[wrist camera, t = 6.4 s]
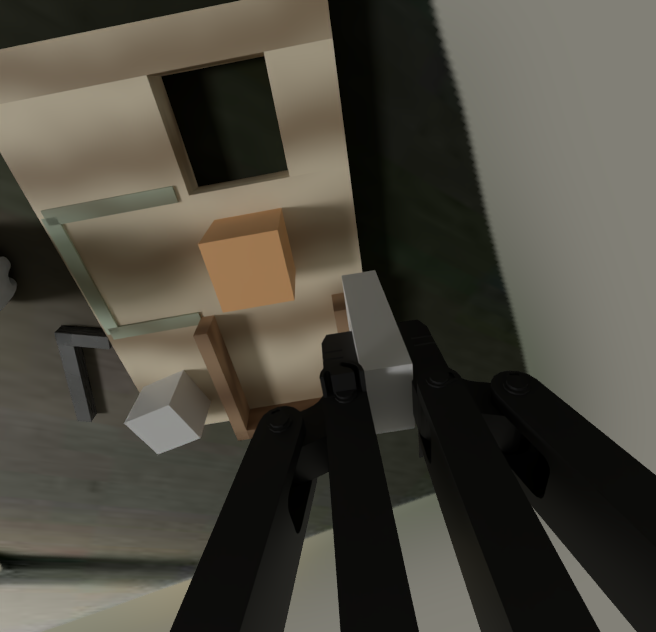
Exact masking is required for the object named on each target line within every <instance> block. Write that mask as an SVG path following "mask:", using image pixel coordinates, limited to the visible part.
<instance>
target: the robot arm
mask: <svg viewBox="0 0 656 632" xmlns="http://www.w3.org/2000/svg"><path fill="white" fill-rule="evenodd" d="M342 283H343V290H344V297H345V304H346V311H347V318H348V325H349V331H347V332H341V333H335V334H328V335H326V336H325V338H324V340H323V342H322V343H321V344H322V358H323V369H322V371H321V372H320V377H319V378H320V383H321V388H322V392H323V396H322V398H321V399H320V400H319V401H318V402H317V403H316V404H314V405H313V406H311V407H309V408H307V409H305V410H302V411H299V410H297V409H296V408H294V407H290V406H280V407H276V408H274V409H271V410H269V411H268V412H267V413H266V414H264V415H263V416H262V418H261V419H260V421H259V423H258V425H257V427H256V430H255V432H254V434H253V437H252V439H251V441H250V444H249V446H248V449H247V451H246V453H245V456H244V458H243V460H242V463H241V465H240V467H239V470H238V472H237V474H236V477H235V479H234V481H233V484H232V486H231V489H230V491H229V493H228V496H227V498H226V500H225V503H224V505H223V507H222V510H221V512H220V514H219V517H218V519H217V522H216V524H215V526H214V529H213V531H212V533H211V536H210V538H209V540H208V543H207V545H206V547H205V550H204V552H203V555H202V557H201V559H200V562H199V564H198V566H197V569H196V571H195V573H194V576H193V578H192V580H191V583H190V585H189V588H188V590H187V592H186V595H185V597H184V599H183V602H182V604H181V606H180V609H179V611H178V613H177V616H176V618H175V621H174V623H173V625H172V628H171V630H170V632H284V628H285V623H286V619H287V614H288V609H289V605H290V600H291V596H292V592H293V587H294V583H295V578H296V574H297V569H298V565H299V560H300V556H301V551H302V546H303V542H304V537H305V533H306V528H307V524H308V519H309V515H310V510H311V506H312V501H313V497H314V492H315V488H316V483H317V477H319V476H321V475H323V474H325V473H327V472H329V478H330V492H331V506H332V519H333V532H334V547H335V559H336V575H337V588H338V602H339V616H340V630H341V632H419V630H418V626H417V621H416V616H415V611H414V607H413V602H412V598H411V594H410V589H409V584H408V579H407V575H406V570H405V566H404V561H403V556H402V552H401V547H400V543H399V538H398V533H397V528H396V524H395V519H394V515H393V510H392V505H391V501H390V496H389V492H388V487H387V482H386V478H385V473H384V468H383V464H382V459H381V455H380V450H379V445H378V441H377V436H376V434H379V433H386V432H392V431H399V430H406V429H413V428H415V421H416V424H417V427H418V434H419V458H420V457H423V456H424V459H425V462H426V465H427V468H428V471H429V474H430V477H431V480H432V483H433V486H434V489H435V492H436V495H437V498H438V501H439V504H440V508H441V511H442V514H443V517H444V520H445V523H446V526H447V529H448V532H449V535H450V538H451V541H452V544H453V547H454V550H455V553H456V556H457V559H458V562H459V566H460V568H461V572H462V575H463V578H464V581H465V584H466V587H467V590H468V593H469V596H470V599H471V602H472V605H473V609H474V612H475V615H476V618H477V621H478V624H479V627H480V630H481V632H600V630H599V629H598V627H597V625H596V623H595V621H594V619H593V618H592V616H591V614H590V612H589V610H588V608H587V607H586V605H585V603H584V601H583V599H582V597H581V596H580V594H579V592H578V590H577V588H576V586H575V585H574V583H573V581H572V579H571V578H570V575H569V574H568V572H567V570H566V568H565V566H564V564H563V563H562V561H561V559H560V557H559V555H558V553H557V552H556V550H555V548H554V546H553V545H552V543H551V541H550V539H549V537H548V535H547V534H546V532H545V530H544V528H543V526H542V524H541V522H540V521H539V519H538V517H537V515H536V513H535V512H534V510H533V508H534V509H535V510H536V512H537V513H538V514H539V515H540V516H541V517H542V519H543V520H544V521H545V522H546V524H547V525H548V526H549V527H550V528H551V529H552V531H553V532H554V533H555V534H556V535H557V537H558V538H559V539H560V540H561V542H562V543H563V544H564V545H565V546H566V547H567V549H568V550H569V551H570V552H571V553H572V555H573V556H574V557H575V558H576V559H577V561H578V562H579V563H580V564H581V565H582V567H583V568H584V569H585V570H586V571H587V573H588V574H589V575H590V576H591V577H592V579H593V580H594V581H595V582H596V583H597V584H598V586H599V587H600V588H601V589H602V590H603V592H604V593H605V594H606V595H607V597H608V598H609V599H610V600H611V601H612V603H613V604H614V605H615V606H616V607H617V608H618V610H619V611H620V612H621V613H622V614H623V616H624V617H625V618H626V619H627V621H628V622H629V623H630V624H631V625H632V627H633V628H634V629H635V630H636V631H637V632H656V475H655V474H654V473H652V472H651V471H650V470H649V469H647V468H646V467H645V466H643V465H642V464H641V463H640V462H638V461H637V460H636V459H635V458H634V457H632V456H631V455H630V454H629V453H627V452H626V451H625V450H624V449H622V448H621V447H620V446H619V445H617V444H616V443H615V442H614V441H613V440H611V439H610V438H609V437H608V436H606V435H605V434H604V433H603V432H601V431H600V430H599V429H598V428H596V427H595V426H594V425H593V424H591V423H590V422H589V421H588V420H586V419H585V418H584V417H583V416H582V415H580V414H579V413H578V412H576V411H575V410H574V409H573V408H572V407H570V406H569V405H568V404H567V403H565V402H564V401H563V400H562V399H560V398H559V397H558V396H557V395H555V394H554V393H553V392H552V391H550V390H549V389H548V388H547V387H545V386H544V385H543V384H542V383H541V382H539V381H538V380H537V379H535V378H533V377H532V376H530V375H529V374H526V373H522V372H519V371H504V372H500V373H498V374H497V375H495V376H494V377H493V379H492V380H491V383H486V382H475V381H469V380H465V379H462V378H461V376H460V375H459V374H458V373H457V372H456V371H454V370H452V369H450V368H449V367H448V366H447V364H446V362H445V360H444V358H443V356H442V354H441V352H440V350H439V348H438V347H437V345H436V343H435V341H434V339H433V337H432V336H431V333H430V331H429V329H428V327H427V326H426V325H424V324H423V323H422V322H420V321H419V320H412V321H406V322H399V323H396V321H395V319H394V316H393V314H392V311H391V309H390V306H389V304H388V301H387V299H386V296H385V294H384V291H383V289H382V286H381V284H380V281H379V279H378V276H377V274H376V271H375V270H373V271H367V272H361V273H355V274H348V275H342ZM532 507H533V508H532Z"/></svg>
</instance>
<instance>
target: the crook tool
mask: <svg viewBox="0 0 656 632" xmlns="http://www.w3.org/2000/svg"><path fill="white" fill-rule="evenodd" d="M55 337H56V341H57V344H58V348H59V352H60V356H61V360H62V363H63V367H64V371H65V375H66V379H67V382H68V386H69V390H70V394H71V398H72V401H73V405H74V409H75V413H76V416H77V420H78V421H86V422H92V420H93V419H94V417H95V415H96V414H97V412H96V408H95V403H94V399H93V394H92V390H91V386H90V381H89V377H88V372H87V368H86V363H85V359H84V354H83V350H82V347H90V348H102V349H110V348H111V347H112V344H111V342H110V341H109V339H108V337H107V335H106V334H105V332H104V330H103V329H96V328H85V327H74V326H63V325H62V326H61V327H60V328H59V329H58V330H57V331H56V332H55Z"/></svg>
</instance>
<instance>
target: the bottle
mask: <svg viewBox="0 0 656 632" xmlns="http://www.w3.org/2000/svg"><path fill="white" fill-rule="evenodd" d="M10 267H11V264H10V262H9V260H8V259H7V258H6V257H0V311H1V310H2V309H3V308H4V307H5V305H6V304H7V303H8V302H9V301H10V299H11V298H12V297H13V295H14V293H15V291H16V287H17V283H16V281H15V280H14V279H12V278H10V277H8V273H9V270H10Z"/></svg>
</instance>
